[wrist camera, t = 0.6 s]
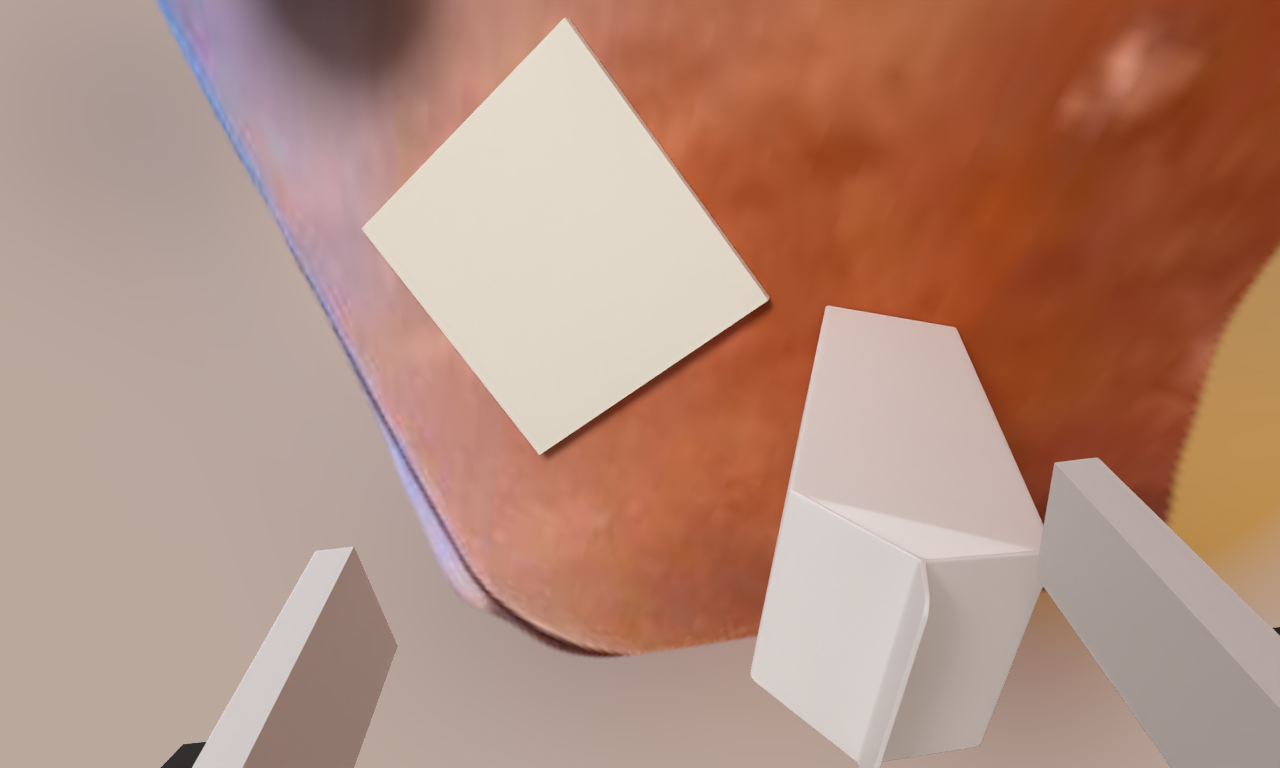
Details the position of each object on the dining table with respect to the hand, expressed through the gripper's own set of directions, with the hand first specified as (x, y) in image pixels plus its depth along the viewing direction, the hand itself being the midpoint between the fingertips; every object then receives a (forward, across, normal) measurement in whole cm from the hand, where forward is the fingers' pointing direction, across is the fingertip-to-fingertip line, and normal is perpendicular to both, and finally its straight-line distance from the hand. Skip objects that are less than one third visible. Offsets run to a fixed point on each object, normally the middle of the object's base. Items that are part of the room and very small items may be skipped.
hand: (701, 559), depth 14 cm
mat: (+25, -6, -2) cm, 26 cm away
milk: (+20, +10, -8) cm, 24 cm away
